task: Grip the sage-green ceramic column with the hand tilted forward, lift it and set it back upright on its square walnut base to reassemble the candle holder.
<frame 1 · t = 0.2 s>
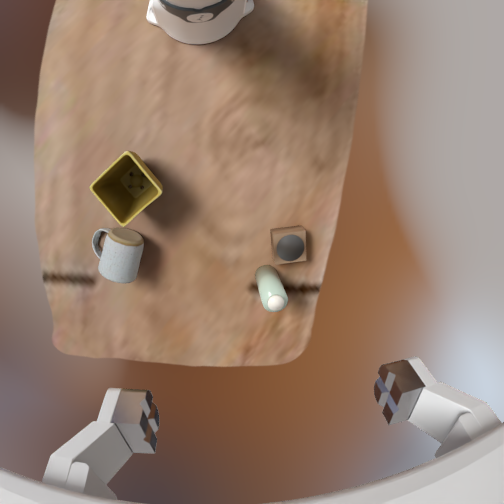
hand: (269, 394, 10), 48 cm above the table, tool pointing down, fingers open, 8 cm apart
ceramic mug: (120, 245, 56), on the table
flower pot: (137, 179, 52), on the table
base: (286, 242, 60), on the table
column: (265, 275, 62), on the table
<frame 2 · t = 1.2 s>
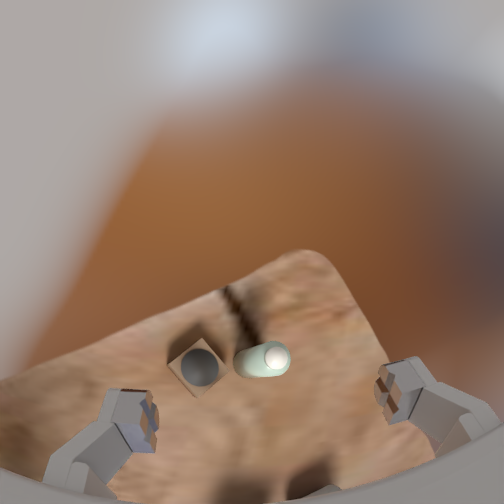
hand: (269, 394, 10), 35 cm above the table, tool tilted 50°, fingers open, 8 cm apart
base: (195, 368, 42), on the table
column: (247, 363, 45), on the table
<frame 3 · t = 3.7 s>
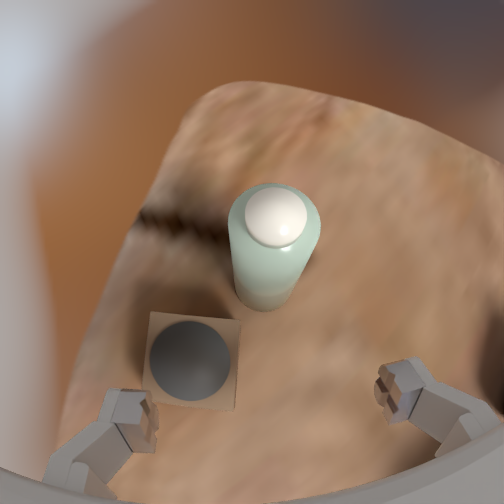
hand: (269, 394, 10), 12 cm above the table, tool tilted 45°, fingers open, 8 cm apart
base: (196, 363, 21), on the table
column: (263, 283, 24), on the table
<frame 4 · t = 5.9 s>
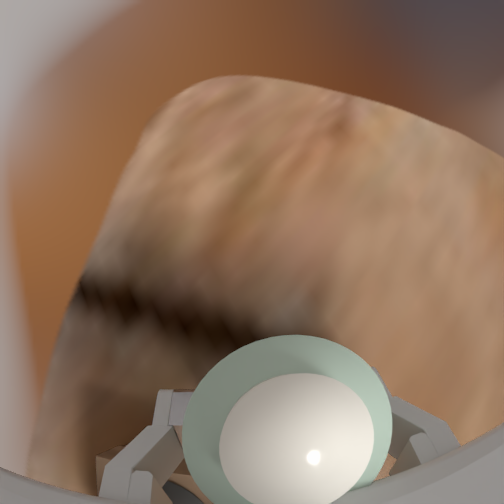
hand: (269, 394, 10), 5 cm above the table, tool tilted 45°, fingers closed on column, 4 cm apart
base: (171, 501, 12), on the table
column: (261, 400, 14), on the table, touching gripper
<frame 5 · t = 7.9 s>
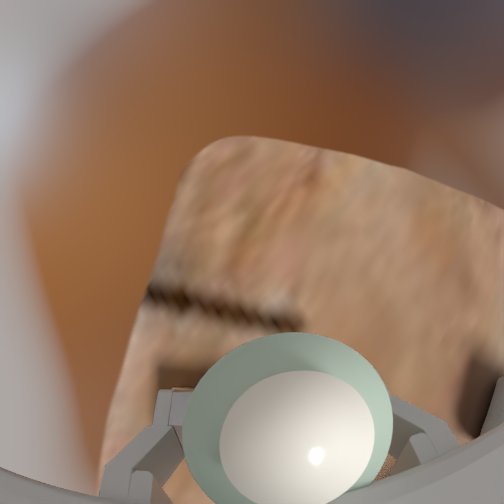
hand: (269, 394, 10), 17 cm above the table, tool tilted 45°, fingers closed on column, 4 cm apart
ceramic mug: (499, 415, 24), on the table
column: (262, 399, 15), point 12 cm above the table, touching gripper
when the fingers open (9 cm above the table, at t = 10.1 s): column stays where it is, resting on base.
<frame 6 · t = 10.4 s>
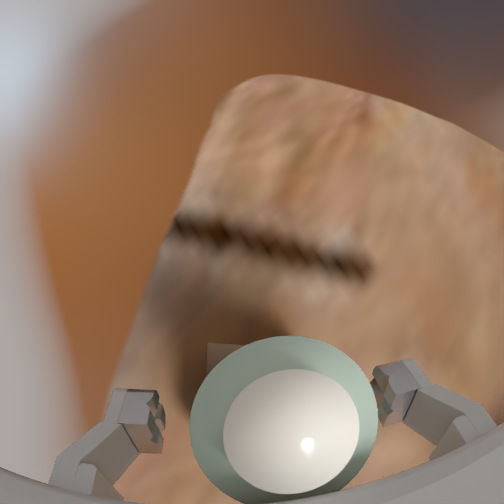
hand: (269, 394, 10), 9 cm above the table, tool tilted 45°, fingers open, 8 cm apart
base: (257, 395, 18), on the table
column: (260, 398, 15), point 3 cm above the table, touching base
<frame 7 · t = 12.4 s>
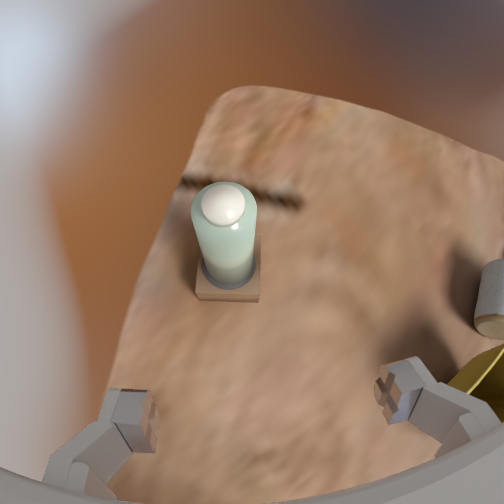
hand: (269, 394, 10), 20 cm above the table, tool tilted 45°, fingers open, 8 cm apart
ceramic mug: (490, 311, 32), on the table
flower pot: (451, 401, 27), on the table
base: (230, 273, 33), on the table
column: (229, 262, 30), point 3 cm above the table, touching base
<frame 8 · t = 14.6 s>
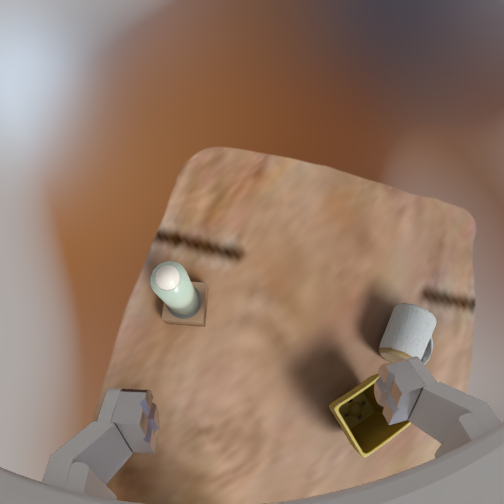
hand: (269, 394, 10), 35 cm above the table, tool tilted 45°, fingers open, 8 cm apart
ceramic mug: (402, 342, 45), on the table
flower pot: (353, 409, 41), on the table
base: (187, 305, 46), on the table
column: (183, 300, 44), point 3 cm above the table, touching base
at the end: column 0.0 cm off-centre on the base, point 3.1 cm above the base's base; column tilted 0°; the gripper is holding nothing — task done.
